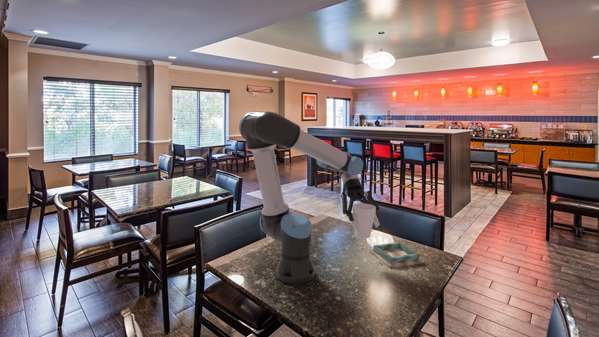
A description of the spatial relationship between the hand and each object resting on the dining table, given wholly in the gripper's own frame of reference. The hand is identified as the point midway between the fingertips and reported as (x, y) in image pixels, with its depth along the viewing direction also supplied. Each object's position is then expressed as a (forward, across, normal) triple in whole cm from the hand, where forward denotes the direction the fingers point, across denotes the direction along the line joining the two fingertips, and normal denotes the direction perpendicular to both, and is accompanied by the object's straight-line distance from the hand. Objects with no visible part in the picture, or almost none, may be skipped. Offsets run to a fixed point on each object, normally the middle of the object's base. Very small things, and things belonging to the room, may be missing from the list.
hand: (367, 227), depth 137 cm
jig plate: (+10, -17, -14) cm, 24 cm away
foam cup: (+1, 0, -6) cm, 6 cm away
